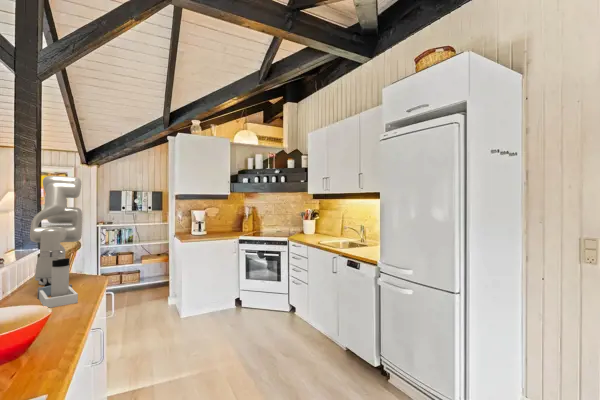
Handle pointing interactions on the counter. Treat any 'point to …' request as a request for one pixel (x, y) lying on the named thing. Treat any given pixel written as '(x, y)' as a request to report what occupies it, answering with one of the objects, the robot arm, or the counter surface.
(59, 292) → the travel mug
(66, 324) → the counter surface
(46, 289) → the cover gate
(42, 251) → the robot arm
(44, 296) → the grey rectangular frame
